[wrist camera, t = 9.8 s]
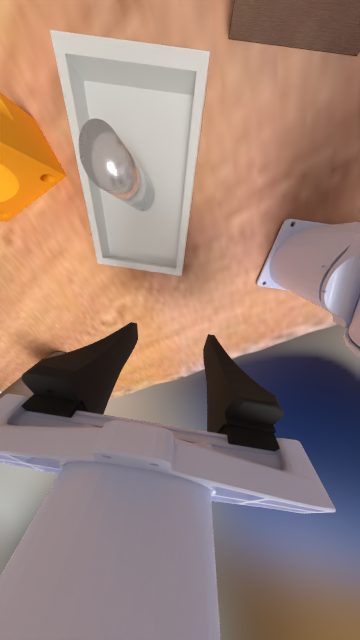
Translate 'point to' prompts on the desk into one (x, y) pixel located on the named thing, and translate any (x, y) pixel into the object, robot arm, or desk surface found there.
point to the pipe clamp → (23, 161)
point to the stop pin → (113, 165)
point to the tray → (138, 139)
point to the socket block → (299, 24)
